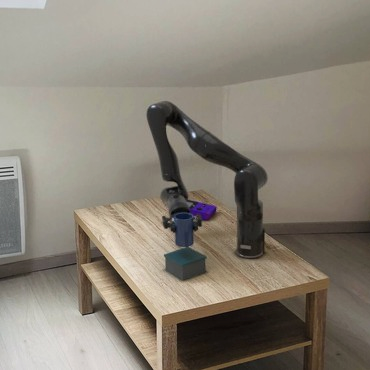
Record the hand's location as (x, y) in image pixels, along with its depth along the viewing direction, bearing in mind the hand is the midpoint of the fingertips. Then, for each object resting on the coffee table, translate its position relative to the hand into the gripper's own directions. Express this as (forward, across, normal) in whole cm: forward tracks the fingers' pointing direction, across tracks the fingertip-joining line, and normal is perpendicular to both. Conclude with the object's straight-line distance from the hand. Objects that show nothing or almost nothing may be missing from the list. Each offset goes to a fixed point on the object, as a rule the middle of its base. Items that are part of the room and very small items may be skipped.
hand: (184, 229), depth 235 cm
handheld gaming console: (-53, +11, +17) cm, 57 cm away
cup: (-2, 0, +6) cm, 6 cm away
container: (-2, 0, +17) cm, 17 cm away
